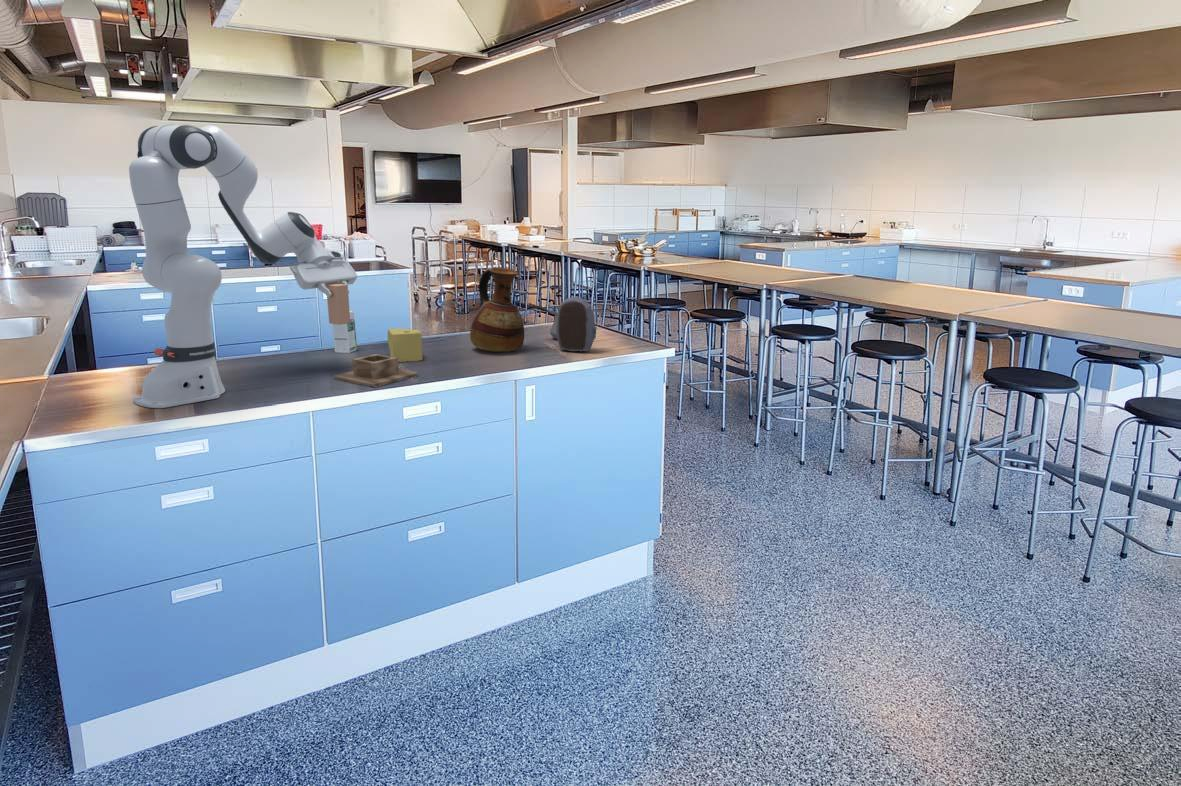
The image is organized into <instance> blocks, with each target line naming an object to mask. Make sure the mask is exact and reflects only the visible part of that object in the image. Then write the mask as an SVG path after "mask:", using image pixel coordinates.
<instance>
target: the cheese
mask: <svg viewBox="0 0 1181 786" xmlns="http://www.w3.org/2000/svg"><path fill="white" fill-rule="evenodd" d="M422 338H423V337H422V332H421V331H420V330H419V329H410V328H398V327H397V328H388V329H387V343H388V349H389V354H390V355H389V356H391V357H396V358H398V363H404V362H407V361H408V362H419V360H422V361H423V344H422V343H423V341H422V340H423V339H422Z"/></svg>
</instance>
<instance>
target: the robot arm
mask: <svg viewBox="0 0 1181 786" xmlns="http://www.w3.org/2000/svg"><path fill="white" fill-rule="evenodd" d="M136 155H137V158H135V159H134V160H133V161H131V162H130V164H129V166H128V173H129V183H130V187H131V188H130V189H131V193H132V197H133V201H134V203H135V206H136V210H137V213H138V216H139V220H140V223H141V227H142V229H143V234H144V241H145V259H144V260H143V263H142V266H141V274H142V277H143V280H144V281H145V282H146V283H147V284H148V285H149V286H151V287H153V288H155V289H157V290H159V291H160V292H161V291H162V292H164V293H170V295H171V299H170V305H169V309H168V312H167V313H166V314H165V316H164V327H165V335H166V340H167V341H166V342H167V344H166V347H165V348H164V349H163V348H159V347H157V348H154V350H153V354H154V355H155V356H159V357H162V361H161V362H159V363H158V365H156V367H154V369H152V370H151V371H150V372H149V373H148V374H147V375H145V377H144V378H143V380H142V384H141V385H142V386H141V395H140V394H139V395H137V396H134V397H133V403H134V404H135V405H138V406H141V407H145V408H150V409H165V408H171V407H177V406H182V405H186V404H192V403H193V404H194V403H198V402H204V401H209V400H215V399H219V398H220V396H221V395H222V394H224V393H225V392H226V389H225V386H224V384H223V382H222V379H221V376H220V373H219V370H218V369H219V368H218V366H217V350H216V349H217V348H216V344H215V342H214V341H213V340H214V339H213V333H212V323H211V321H212V320H211V309H212V303H213V298H214V296H215V293H216V291H217V290H218V289H219V288H220V286H221V283H222V279H223V278H222V277H223V275H222V271H221V268H220V267H219V265H218V264H217V263H216V262H214V260H211V259H210V258H208V257H205V256H202V255H200V254H196V253H195V254H194V253H193V254H192V253H189V252H188V236H189V233H190V231H191V229H192V226H191V221H190V218H189V214H188V211H187V207H186V204H185V200H184V198H183V197H184V196H183V194H182V191H181V188H180V186H179V185H180V184H179V173H180V171H181V170H191V169H192V170H193V169H194V170H196V169H199V168H202V167H204V168H206V169H207V171H208V172H209V173H210V174H211V175H212V177H213V178H214V179H215V181H217V185H218V187H219V191H218V194H217V195H218V199H219V201H220V203H221V206H222V207H223V209H224V210H225V212H226V213H227V215H228V217H229V218H230V220H231V221H232V222H233V224H234V225H235V227H236V229H237V230H238V231H239V233H240V234H241V236H242V237H243V239H244V240H245V241H246V243H247V245H248V247H249V249H250V251H251V253H252V254H253V256H254V258H256V260H258V261H259V262H260V263H261V264H266V265H276V264H277V263H278V262H279V261H281V260H282V259H283V258H284V257H285V256H286V255H287V254H289V253H291V252H292V253H293V254H294V255H295V256H296V259H297V261H298V262H292V263H291V264H290V266H289V269H290V271H291V272H292V274H293V276H294V278H295V281H296V283H297V285H298V287H299V288H301V289H302V290H312V289H313V290H314V289H317V290H318V291H320V293H323V294H325V296H326V298H327V297H333V295H334V293H333V292H332V290H329V289H328V288H326V285H331V284H345V285H348V286H349V285H353V284H354V283H355V281H356V280H357V278H358V275H357V272H356V270H355V269H354V268H353V267H352V265H351V264H350V262H349V261H348V260H346V259H344V257H345V256H344V254H343V253H342V252H339V251H335V250H331V249H328V248H325V247H324V246H323V245H322V244H321V243H320V242H319V241H318V238H317V236H316V234H315V229H314V228H313V226H312V225H311V223H310V222H309V221H308V220H307V219H306V217H305V216H304V215H302V214H301V213H298V212H292V211H288V212H286V213H284V214H283V215H281V216H280V217H277V219H275V220H274V221H272V222H271V223H270V224H268V225H267V226H266V227H264V228H263V229H261V230H257V229H256V228H255V227H254V226H253V224H252V223H251V221H250V219H249V218H248V217H247V215H246V213H245V211H244V207H245V204H246V202H247V200H248V198H249V197H250V195H251V194H252V192H254V189H255V187H256V185H257V183H258V178H259V177H258V176H259V175H258V168H257V166H256V164H255V162H254V161H253V159H252V158H251V157H250V156H249V154H248V153H246V151H245V150H244V149H243V147H242V146H240V145H239V143H238V142H237V141H236V140H234V139H233V138H232V137H231V136H230V135H229V134H228V133H227V132H225V131H224V130H223V129H221V128H220V127H218V126H216V125H211V124H209V125H204V126H202V127H196V126H194V125H193V126H192V125H189V124H183V125H181V124H175V123H174V124H172V123H170V124H161V125H154V126H151V127H148V128H146V129H145V130H143V131H142V132H141V133H140V134H139V138H138V141H137V154H136ZM349 293H350V290H349V289H348V295H349Z"/></svg>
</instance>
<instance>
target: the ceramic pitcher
mask: <svg viewBox="0 0 1181 786" xmlns="http://www.w3.org/2000/svg"><path fill="white" fill-rule="evenodd" d="M518 275H519V273H518V271H517V270H514V269H511V268H507V267H506V268H505V267H491V268H488V269H486V270H485V271H484V272H483V273H482V274H481V277H480V279H479V284H478V294H479V297H480V303H481V306H480V308H479V309H478V310H477V312H476V313H475V315H474V317H473V320H472V322H471V324H470V325H471V326H470V331H469V332H470V333H469V336H470V337H469V338H470V341H471V343H472V345H473V346H474V347H476V348H477V349H479V350H480V351H481V350H482V351H484V352H485V351H486V352H494V353H496V352H497V353H508V352H511V351H512V352H513V351H517V350H519V349H521V348H522V346H523V344H524V342H525V324H524V321H523V317H522V314H521V313H520V311H519V309H518V307H516V306H515V304H513V302H512V300H511V298H512V297H511V291H512V284H513V282H514V280H515V278H516V277H517V276H518ZM491 277H493V281H494V289H493V293H492V296H491V299H490V297H489V293H488V286H489V285H488V284H489V282H490V279H491Z"/></svg>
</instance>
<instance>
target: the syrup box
mask: <svg viewBox="0 0 1181 786" xmlns="http://www.w3.org/2000/svg"><path fill="white" fill-rule="evenodd" d="M349 310H350V323H347V324H341V325H337V324H332V333H333V334H332V335H333V345H334V352H335V353H339V354H351V353H353V352H356V351H357V350H358V345H357V331H356V322H355V320H356V319H355V311H354V310H351V309H349ZM356 345H357V346H356Z"/></svg>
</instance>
